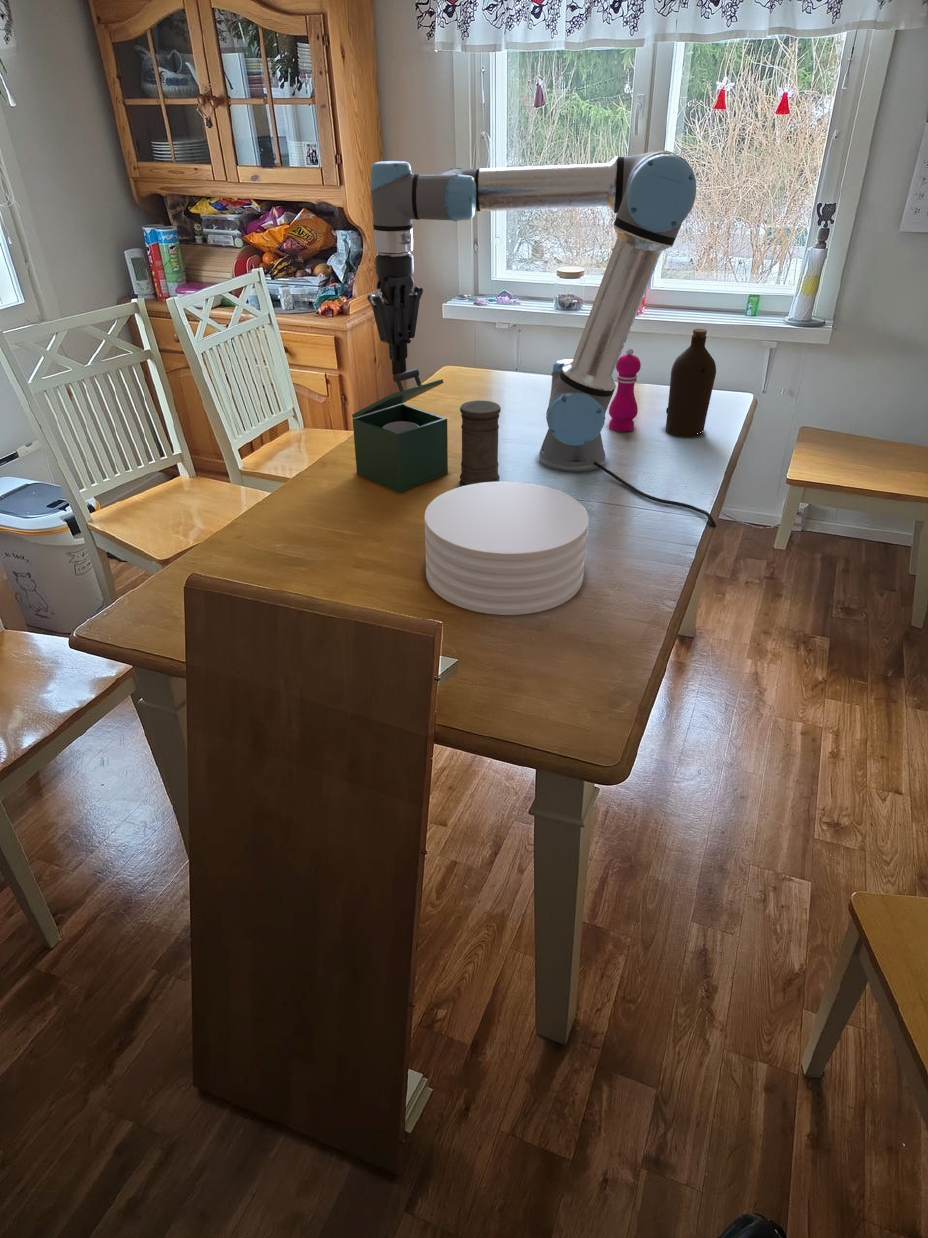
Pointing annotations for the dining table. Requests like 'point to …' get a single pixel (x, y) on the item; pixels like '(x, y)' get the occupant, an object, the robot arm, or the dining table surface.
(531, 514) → the plate stack
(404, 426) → the dixie cup
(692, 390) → the olive oil
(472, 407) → the container
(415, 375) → the lid
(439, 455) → the chest
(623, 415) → the pepper mill
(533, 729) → the dining table surface
